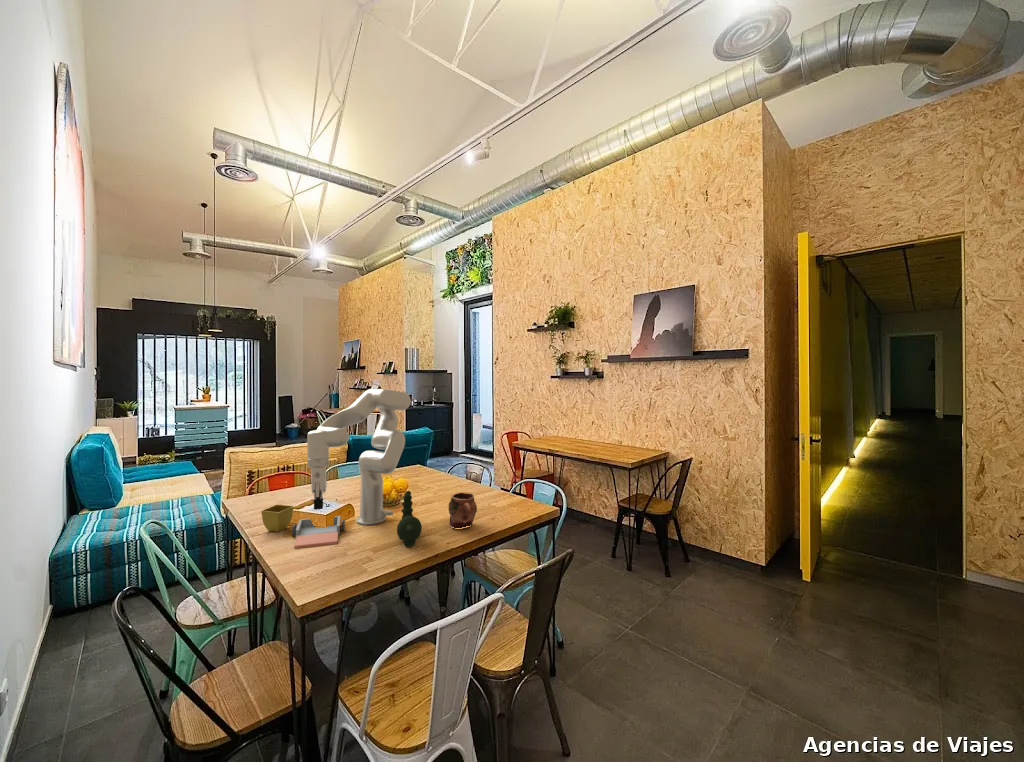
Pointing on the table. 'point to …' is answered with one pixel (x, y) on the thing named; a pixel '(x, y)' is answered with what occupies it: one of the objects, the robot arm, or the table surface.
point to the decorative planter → (462, 510)
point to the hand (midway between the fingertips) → (318, 508)
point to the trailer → (308, 528)
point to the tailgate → (316, 539)
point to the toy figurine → (408, 523)
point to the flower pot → (277, 517)
